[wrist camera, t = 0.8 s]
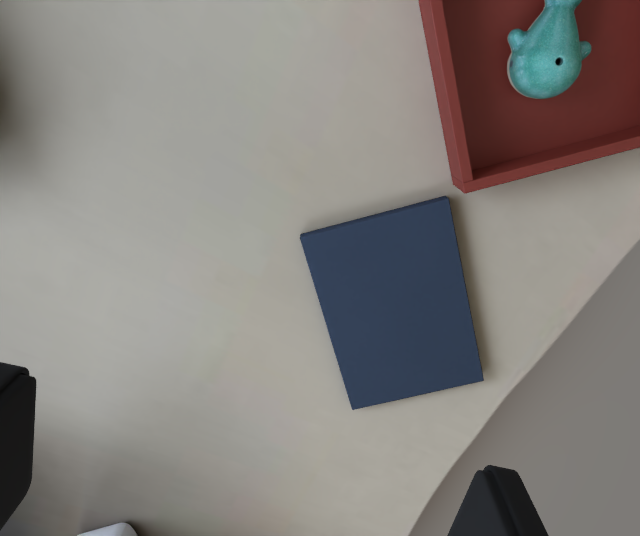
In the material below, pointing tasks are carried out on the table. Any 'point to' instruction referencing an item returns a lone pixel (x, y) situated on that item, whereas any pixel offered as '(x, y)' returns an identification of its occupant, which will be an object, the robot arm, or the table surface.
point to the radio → (112, 531)
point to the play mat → (395, 302)
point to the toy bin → (524, 112)
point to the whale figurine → (547, 52)
